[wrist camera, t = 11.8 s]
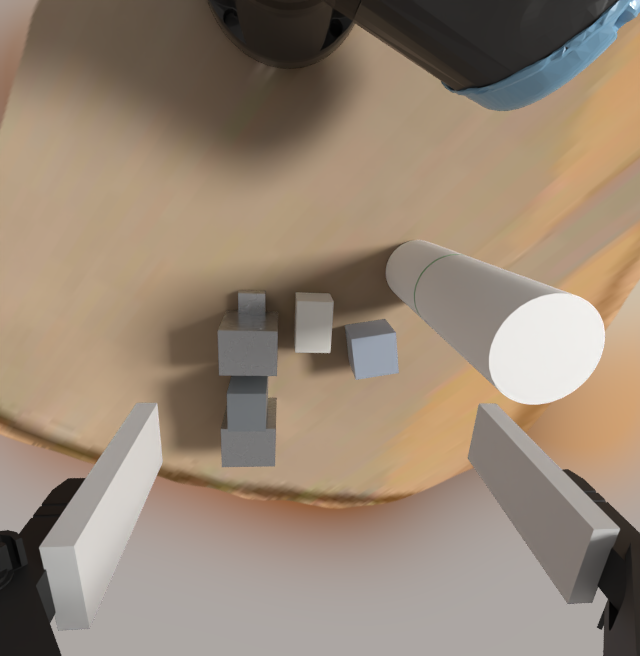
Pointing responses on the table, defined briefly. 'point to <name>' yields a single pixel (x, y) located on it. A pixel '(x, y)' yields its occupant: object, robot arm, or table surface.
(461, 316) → the cylindrical container
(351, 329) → the loose block slate
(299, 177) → the table surface
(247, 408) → the block
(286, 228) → the table surface
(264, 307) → the grey stepped block assembly
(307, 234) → the table surface
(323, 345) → the loose block white
